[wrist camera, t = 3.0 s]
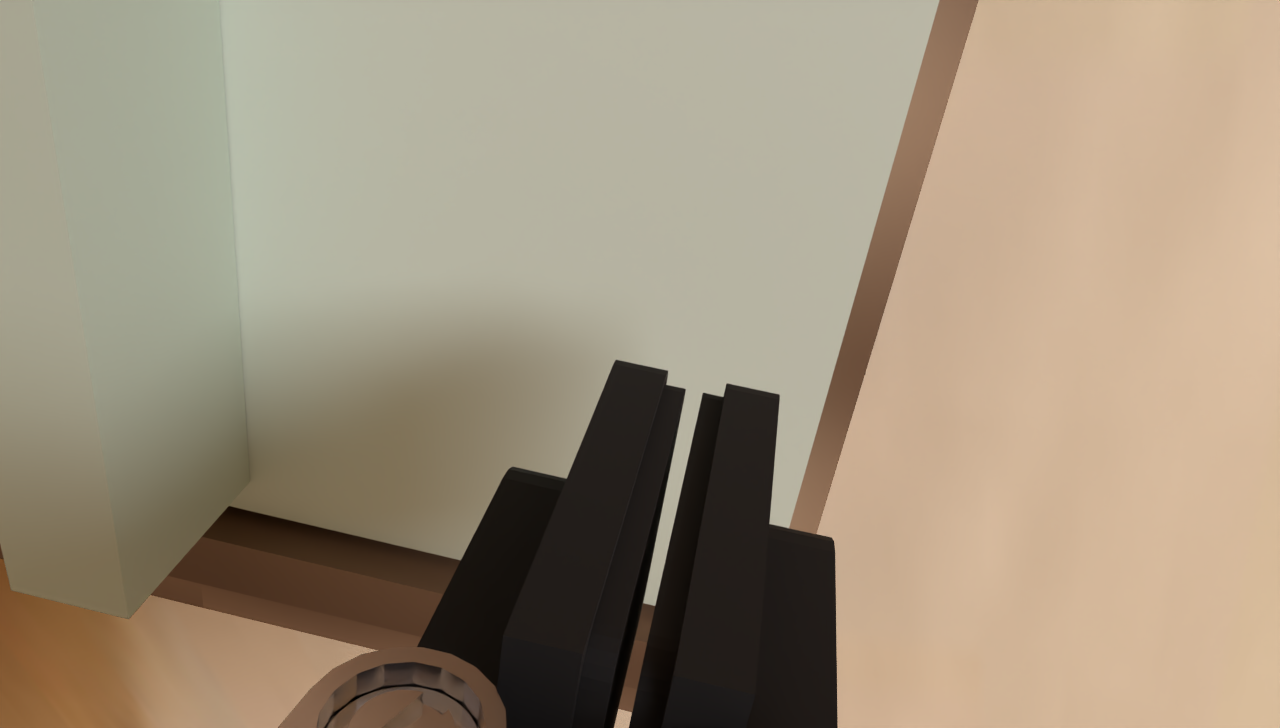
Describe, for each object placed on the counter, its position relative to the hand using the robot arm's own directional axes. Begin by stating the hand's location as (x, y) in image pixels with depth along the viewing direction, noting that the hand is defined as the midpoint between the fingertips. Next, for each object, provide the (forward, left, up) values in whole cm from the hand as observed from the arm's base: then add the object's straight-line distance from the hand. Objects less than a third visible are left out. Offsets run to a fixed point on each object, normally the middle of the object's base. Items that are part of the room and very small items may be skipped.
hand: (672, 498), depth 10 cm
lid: (-1, -3, -4) cm, 5 cm away
